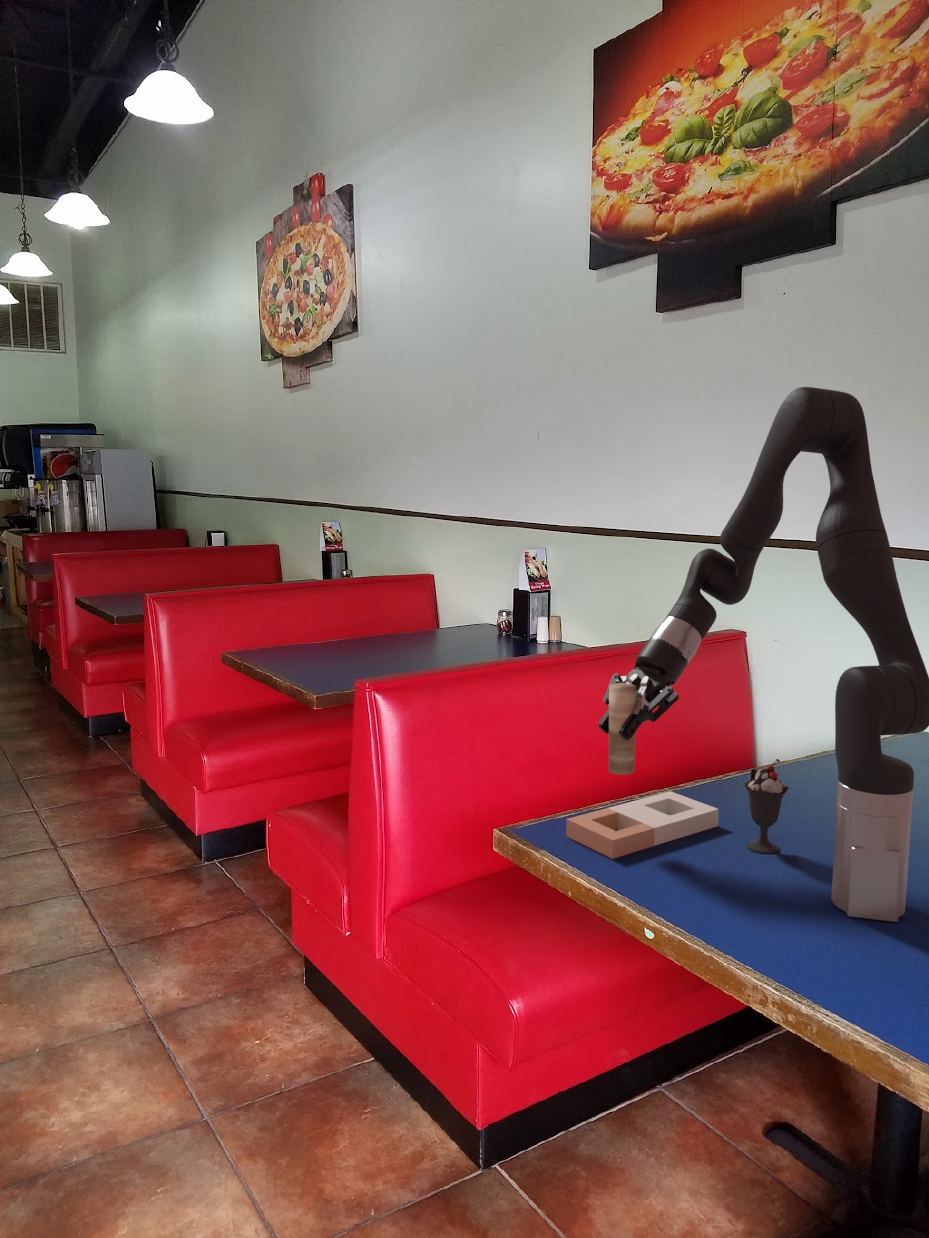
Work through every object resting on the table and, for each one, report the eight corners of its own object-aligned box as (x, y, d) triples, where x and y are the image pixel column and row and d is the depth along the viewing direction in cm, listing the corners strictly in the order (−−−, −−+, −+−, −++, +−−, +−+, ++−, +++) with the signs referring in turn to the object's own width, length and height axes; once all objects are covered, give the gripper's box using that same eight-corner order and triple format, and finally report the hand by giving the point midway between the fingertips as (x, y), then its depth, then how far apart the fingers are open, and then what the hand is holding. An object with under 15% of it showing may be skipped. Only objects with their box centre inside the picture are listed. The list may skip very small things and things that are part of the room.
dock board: (612, 858, 139) (612, 840, 139) (566, 836, 148) (566, 818, 148) (718, 826, 152) (718, 808, 152) (669, 807, 161) (670, 791, 161)
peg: (632, 775, 143) (634, 689, 141) (606, 773, 144) (607, 688, 143) (635, 767, 147) (637, 684, 145) (610, 765, 148) (611, 682, 146)
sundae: (786, 858, 139) (790, 764, 137) (740, 853, 141) (744, 760, 139) (785, 842, 145) (789, 752, 143) (742, 837, 147) (745, 748, 145)
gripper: (627, 631, 153) (571, 710, 148) (690, 642, 141) (631, 729, 136) (649, 658, 156) (595, 737, 152) (712, 671, 145) (656, 757, 140)
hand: (613, 733), depth 144 cm, fingers closed on peg, 4 cm apart
